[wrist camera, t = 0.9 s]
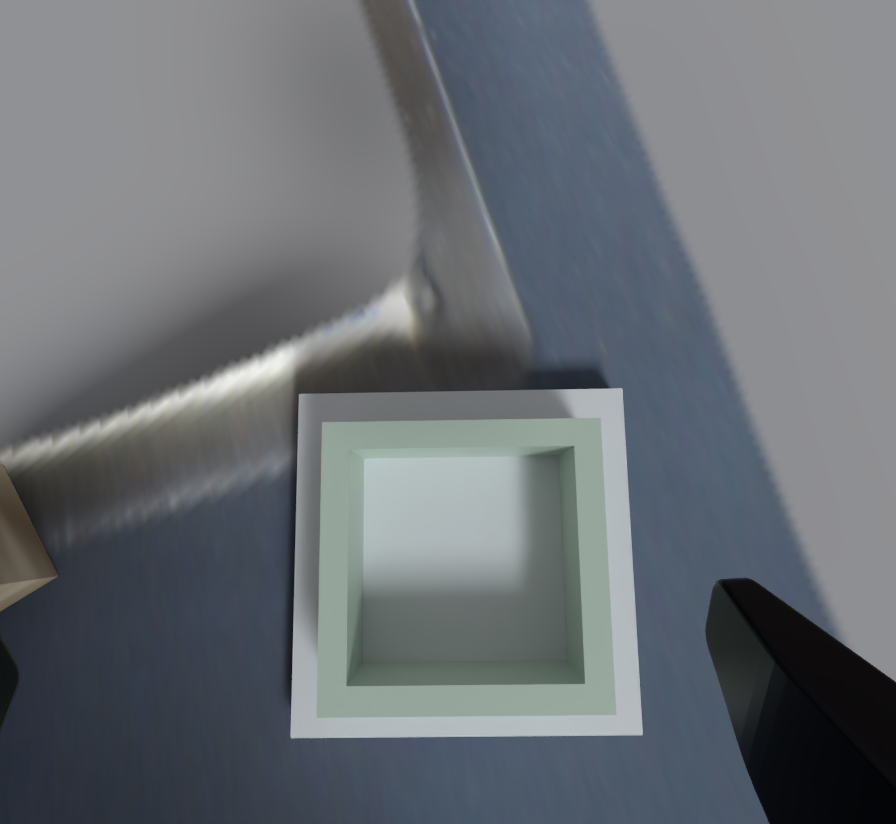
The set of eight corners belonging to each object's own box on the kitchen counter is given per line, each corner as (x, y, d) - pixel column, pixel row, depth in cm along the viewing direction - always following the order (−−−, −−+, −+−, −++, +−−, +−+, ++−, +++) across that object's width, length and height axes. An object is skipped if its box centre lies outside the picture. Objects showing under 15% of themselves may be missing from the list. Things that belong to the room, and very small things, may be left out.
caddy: (632, 723, 21) (674, 772, 17) (299, 725, 21) (261, 775, 17) (613, 395, 23) (648, 367, 19) (307, 400, 23) (273, 374, 19)
